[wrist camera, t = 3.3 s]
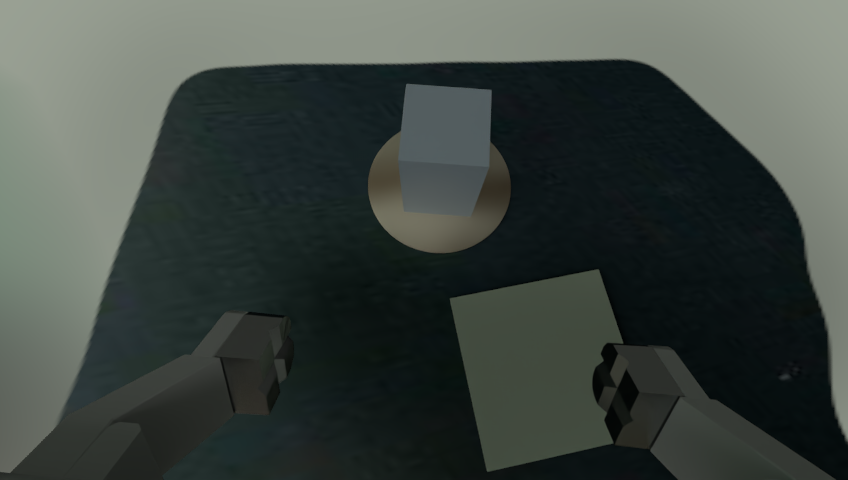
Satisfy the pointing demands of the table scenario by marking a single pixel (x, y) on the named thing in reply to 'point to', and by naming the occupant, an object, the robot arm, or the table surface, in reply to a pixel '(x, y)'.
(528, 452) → the sage mat
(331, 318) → the table surface
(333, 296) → the table surface
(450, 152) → the grey block
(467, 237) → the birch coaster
